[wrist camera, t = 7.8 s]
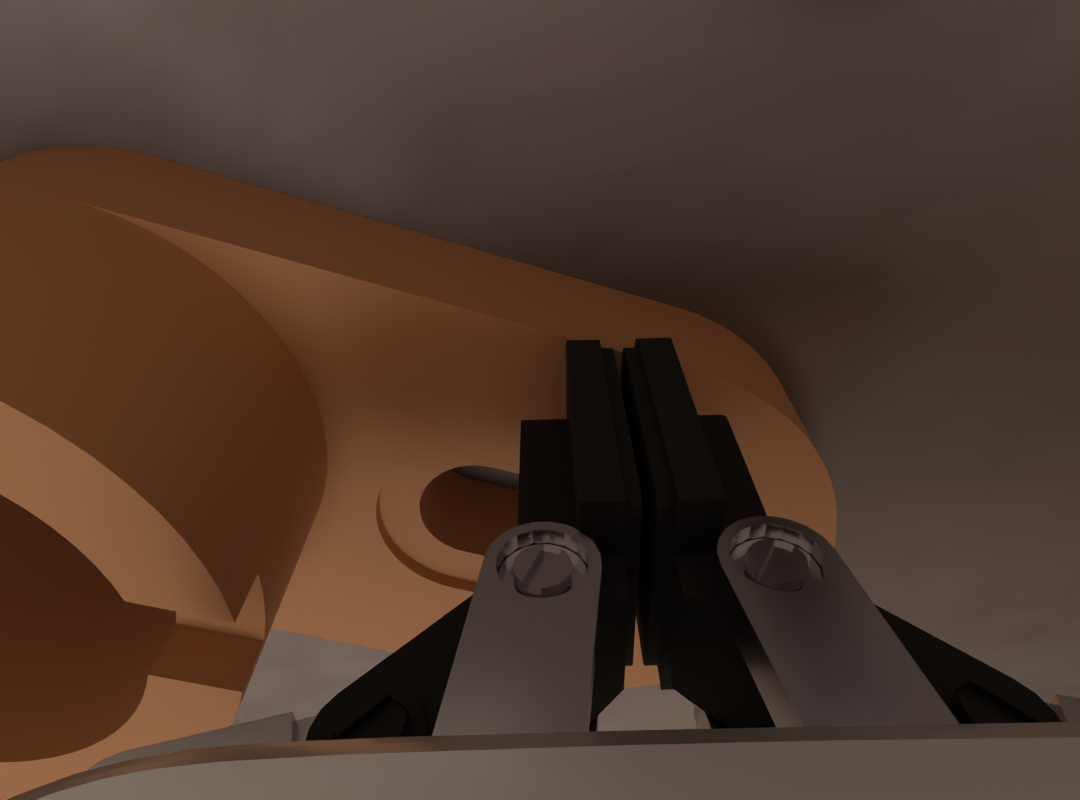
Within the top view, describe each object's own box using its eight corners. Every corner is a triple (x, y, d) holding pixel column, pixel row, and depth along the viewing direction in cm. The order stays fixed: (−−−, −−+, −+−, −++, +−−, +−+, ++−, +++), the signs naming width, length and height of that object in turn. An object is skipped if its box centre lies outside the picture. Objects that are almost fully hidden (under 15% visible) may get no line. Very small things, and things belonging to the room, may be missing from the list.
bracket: (-36, 460, 16) (-368, 752, 10) (-98, 77, 12) (-727, 205, 6) (700, 621, 19) (770, 925, 13) (866, 357, 15) (1082, 632, 9)
